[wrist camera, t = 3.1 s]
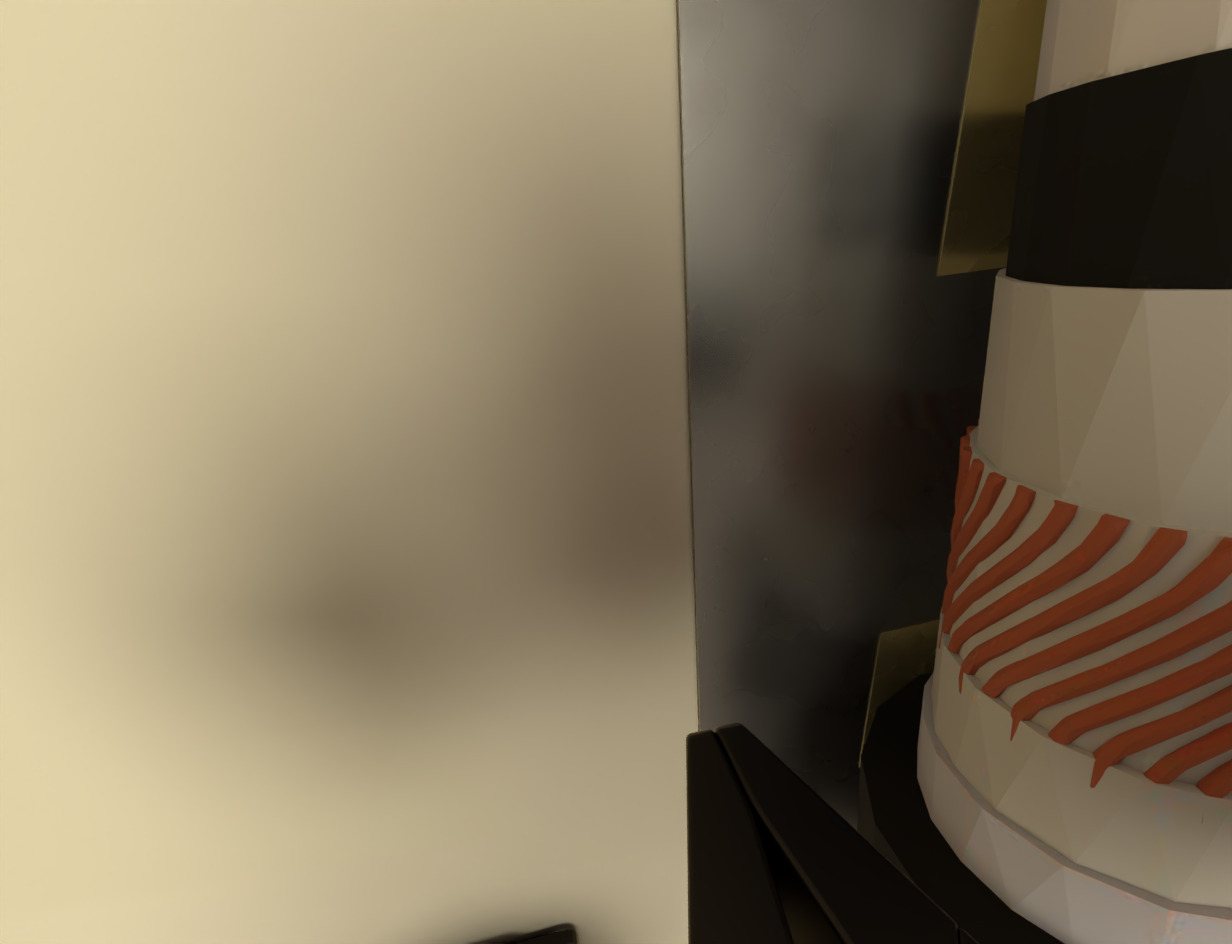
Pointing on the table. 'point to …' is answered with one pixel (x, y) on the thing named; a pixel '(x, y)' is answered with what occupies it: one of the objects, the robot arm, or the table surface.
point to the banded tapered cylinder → (1090, 522)
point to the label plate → (837, 341)
